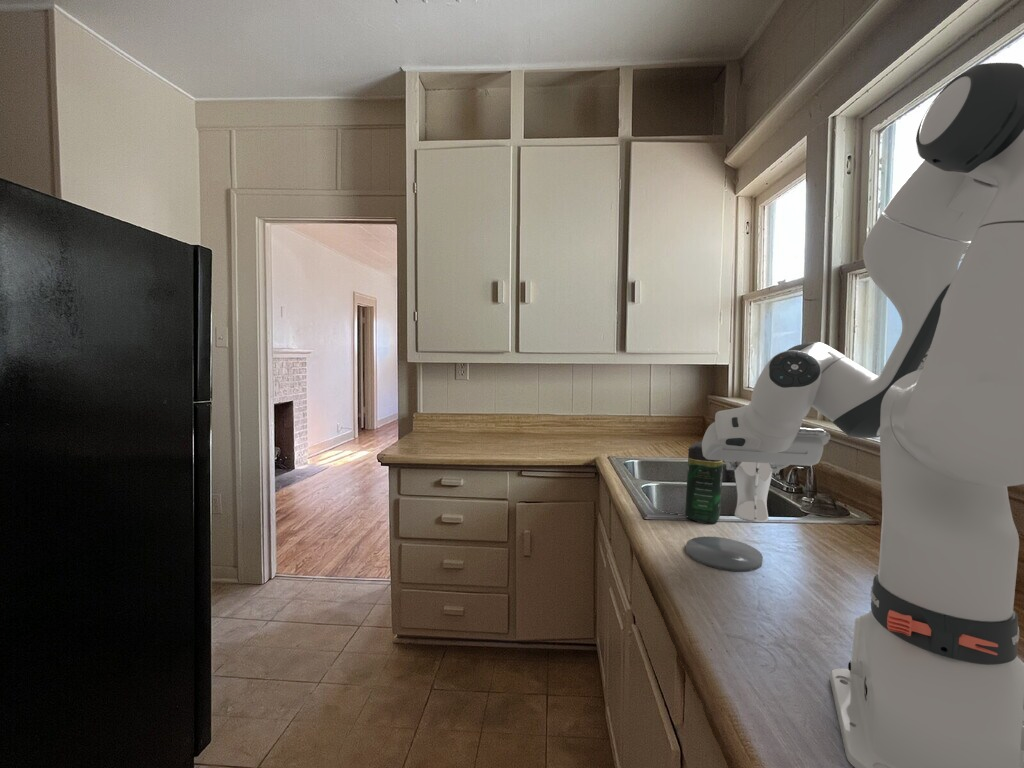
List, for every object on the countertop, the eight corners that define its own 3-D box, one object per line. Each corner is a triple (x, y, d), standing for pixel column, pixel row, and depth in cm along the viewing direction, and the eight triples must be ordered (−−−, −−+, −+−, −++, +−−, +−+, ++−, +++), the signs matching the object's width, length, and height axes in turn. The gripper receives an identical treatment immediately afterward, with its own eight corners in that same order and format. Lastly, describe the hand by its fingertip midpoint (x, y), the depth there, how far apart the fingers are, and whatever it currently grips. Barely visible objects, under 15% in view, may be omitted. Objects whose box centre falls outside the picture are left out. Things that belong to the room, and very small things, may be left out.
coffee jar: (719, 526, 112) (722, 447, 110) (683, 520, 115) (686, 444, 114) (721, 514, 120) (724, 440, 119) (688, 509, 124) (691, 437, 123)
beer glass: (775, 524, 91) (778, 445, 91) (735, 520, 93) (738, 443, 93) (765, 515, 98) (768, 441, 98) (728, 511, 100) (731, 439, 100)
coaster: (753, 578, 86) (753, 573, 86) (675, 556, 95) (675, 551, 95) (769, 553, 97) (769, 548, 97) (698, 535, 106) (698, 531, 106)
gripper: (829, 416, 86) (805, 458, 96) (707, 411, 90) (696, 452, 100) (838, 445, 82) (812, 486, 92) (710, 438, 86) (699, 478, 96)
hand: (751, 468), depth 96 cm, fingers closed on beer glass, 7 cm apart
